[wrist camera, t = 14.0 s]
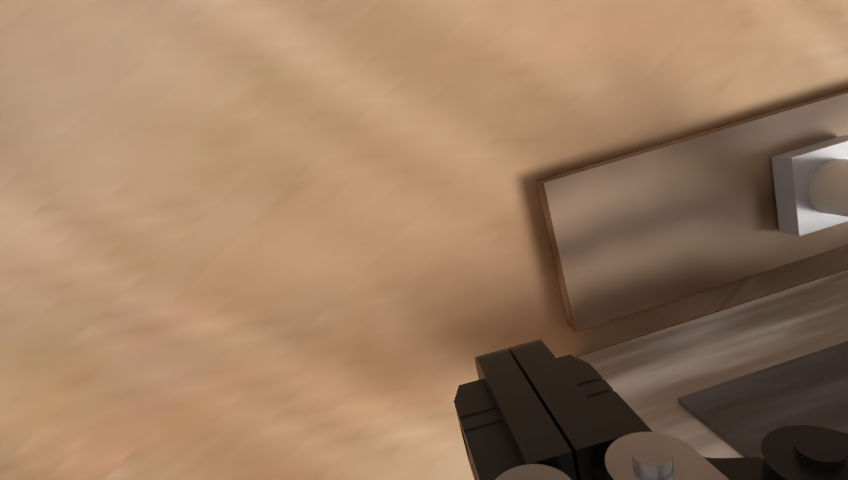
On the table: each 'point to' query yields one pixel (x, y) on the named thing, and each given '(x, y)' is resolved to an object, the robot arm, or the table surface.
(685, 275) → the base
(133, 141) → the table surface
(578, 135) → the table surface
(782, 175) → the white cylinder on base
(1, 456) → the table surface
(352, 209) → the table surface
